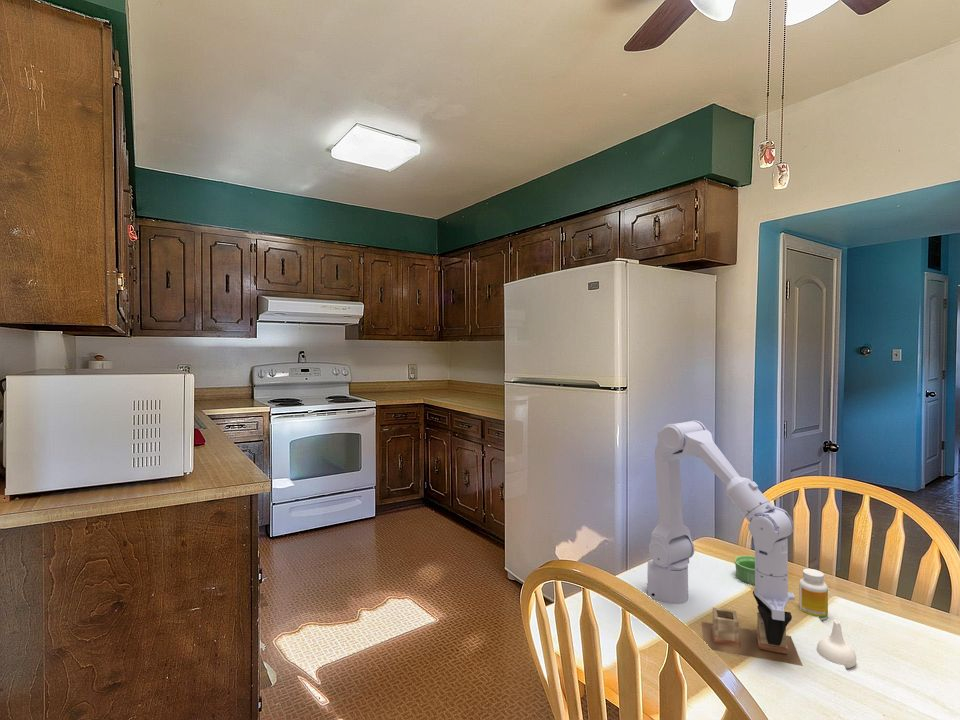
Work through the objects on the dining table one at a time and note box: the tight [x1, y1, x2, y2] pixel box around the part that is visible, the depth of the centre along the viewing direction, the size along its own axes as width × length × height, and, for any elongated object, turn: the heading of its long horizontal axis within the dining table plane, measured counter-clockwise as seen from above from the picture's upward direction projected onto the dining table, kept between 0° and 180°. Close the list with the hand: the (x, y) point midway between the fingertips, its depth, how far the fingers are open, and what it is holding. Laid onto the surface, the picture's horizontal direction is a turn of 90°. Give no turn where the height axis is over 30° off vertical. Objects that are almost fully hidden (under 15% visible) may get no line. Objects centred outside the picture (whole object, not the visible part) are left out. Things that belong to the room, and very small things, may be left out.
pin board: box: [701, 621, 803, 666], centre depth 103 cm, size 17×10×4 cm, turn 69°
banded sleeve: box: [755, 611, 788, 654], centre depth 101 cm, size 5×5×5 cm
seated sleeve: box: [711, 607, 740, 647], centre depth 104 cm, size 5×5×5 cm
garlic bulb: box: [816, 619, 857, 669], centre depth 98 cm, size 6×6×8 cm
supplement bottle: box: [798, 568, 829, 621], centre depth 114 cm, size 5×5×10 cm
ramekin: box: [733, 554, 755, 586], centre depth 131 cm, size 9×9×4 cm
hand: (771, 636), depth 101 cm, fingers closed on banded sleeve, 4 cm apart
